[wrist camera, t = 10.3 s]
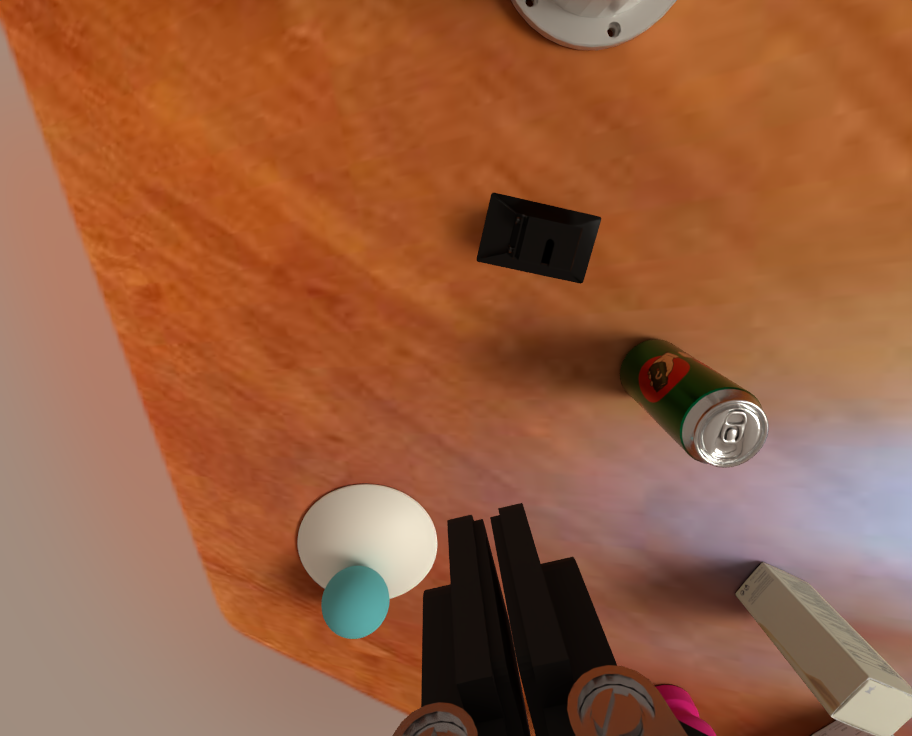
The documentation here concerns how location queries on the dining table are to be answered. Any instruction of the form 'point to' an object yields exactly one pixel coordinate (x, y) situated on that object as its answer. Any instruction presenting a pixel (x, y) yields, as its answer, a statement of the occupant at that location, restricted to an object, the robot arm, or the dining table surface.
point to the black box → (537, 238)
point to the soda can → (695, 404)
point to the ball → (355, 602)
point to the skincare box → (827, 652)
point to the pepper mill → (684, 708)
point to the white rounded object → (368, 536)
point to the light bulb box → (841, 730)
